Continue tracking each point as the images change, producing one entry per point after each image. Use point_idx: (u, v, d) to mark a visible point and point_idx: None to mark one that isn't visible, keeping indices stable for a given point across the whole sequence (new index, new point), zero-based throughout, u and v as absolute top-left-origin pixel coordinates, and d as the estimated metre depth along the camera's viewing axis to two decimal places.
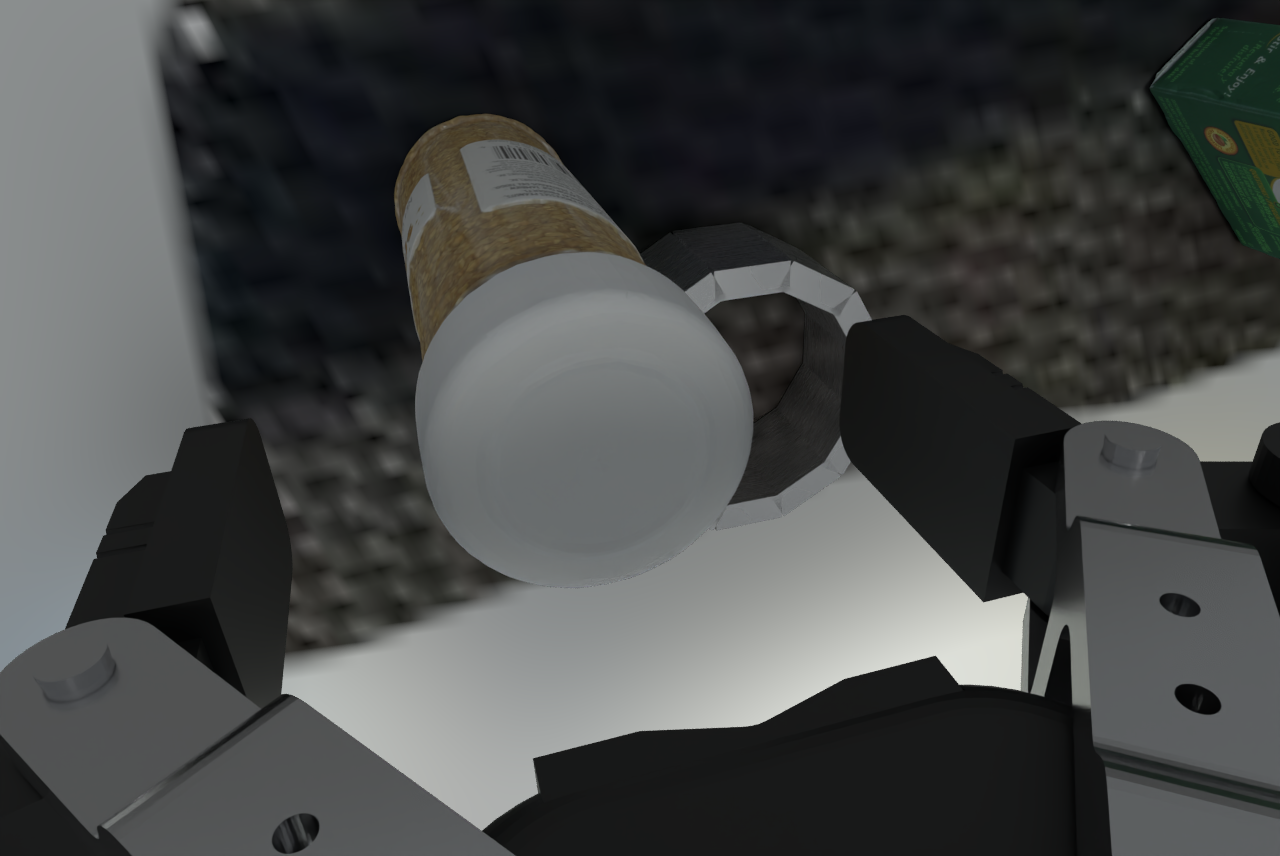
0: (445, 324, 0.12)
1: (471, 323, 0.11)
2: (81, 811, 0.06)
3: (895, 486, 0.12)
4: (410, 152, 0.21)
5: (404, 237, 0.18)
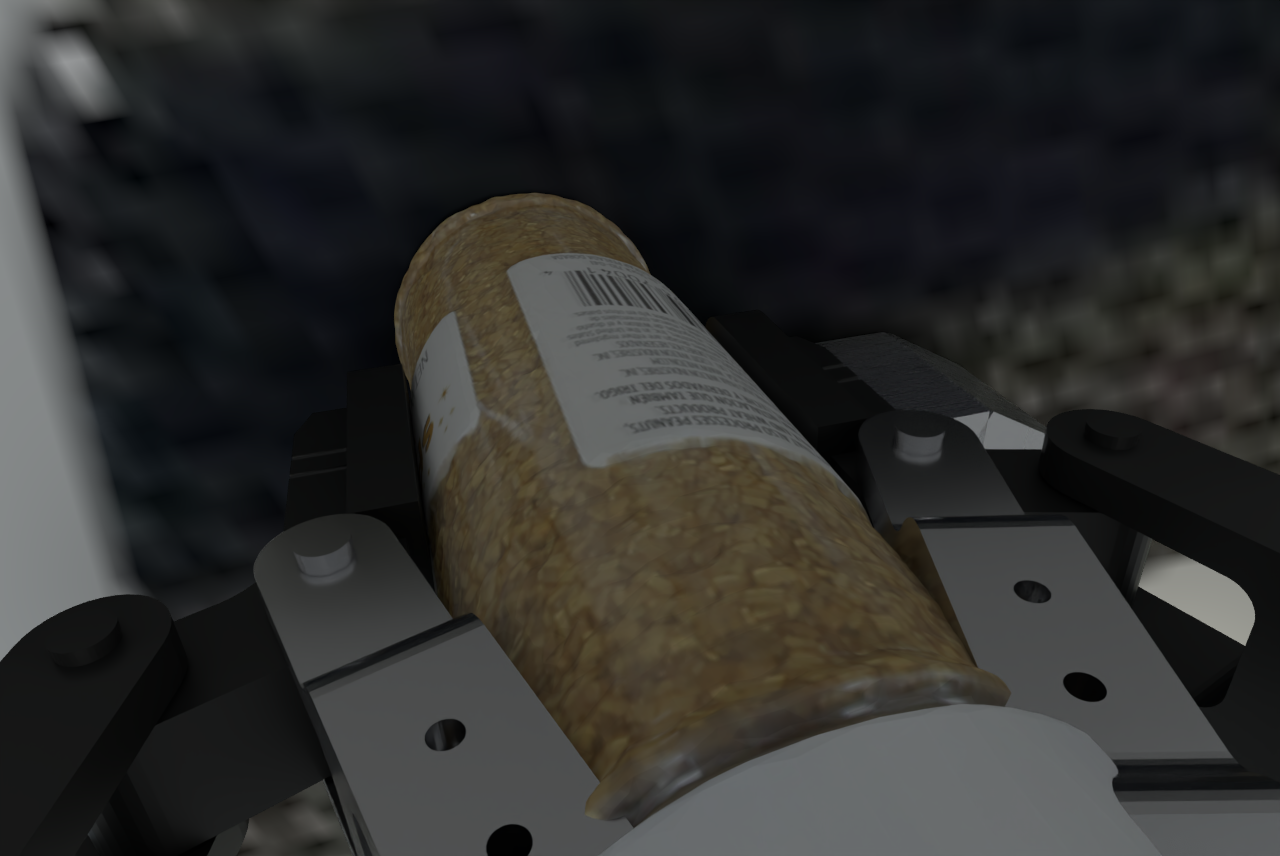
0: None
1: None
2: (300, 668, 0.07)
3: None
4: (419, 253, 0.14)
5: (416, 425, 0.11)
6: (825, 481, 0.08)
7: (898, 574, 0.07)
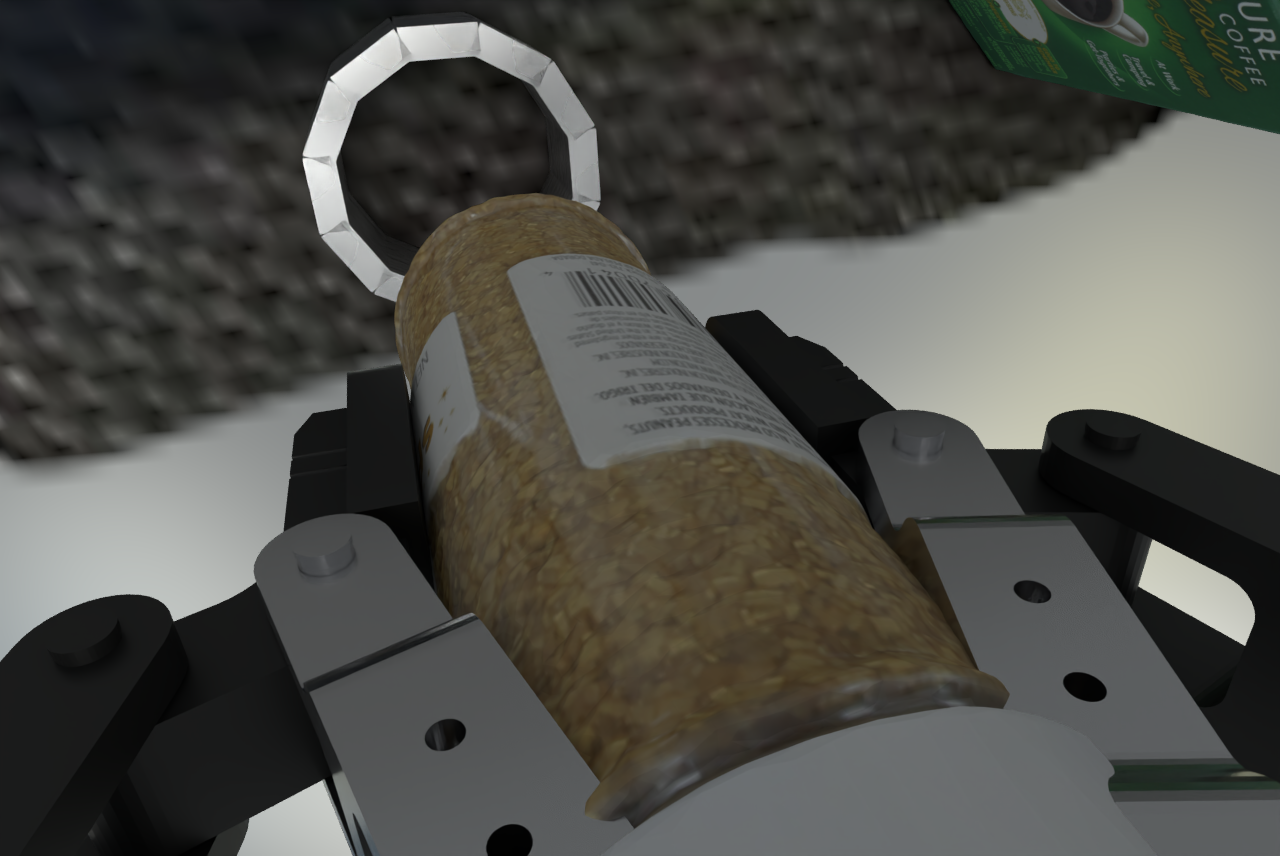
0: None
1: None
2: (299, 668, 0.07)
3: None
4: (420, 254, 0.14)
5: (416, 425, 0.11)
6: (825, 482, 0.08)
7: (898, 576, 0.07)
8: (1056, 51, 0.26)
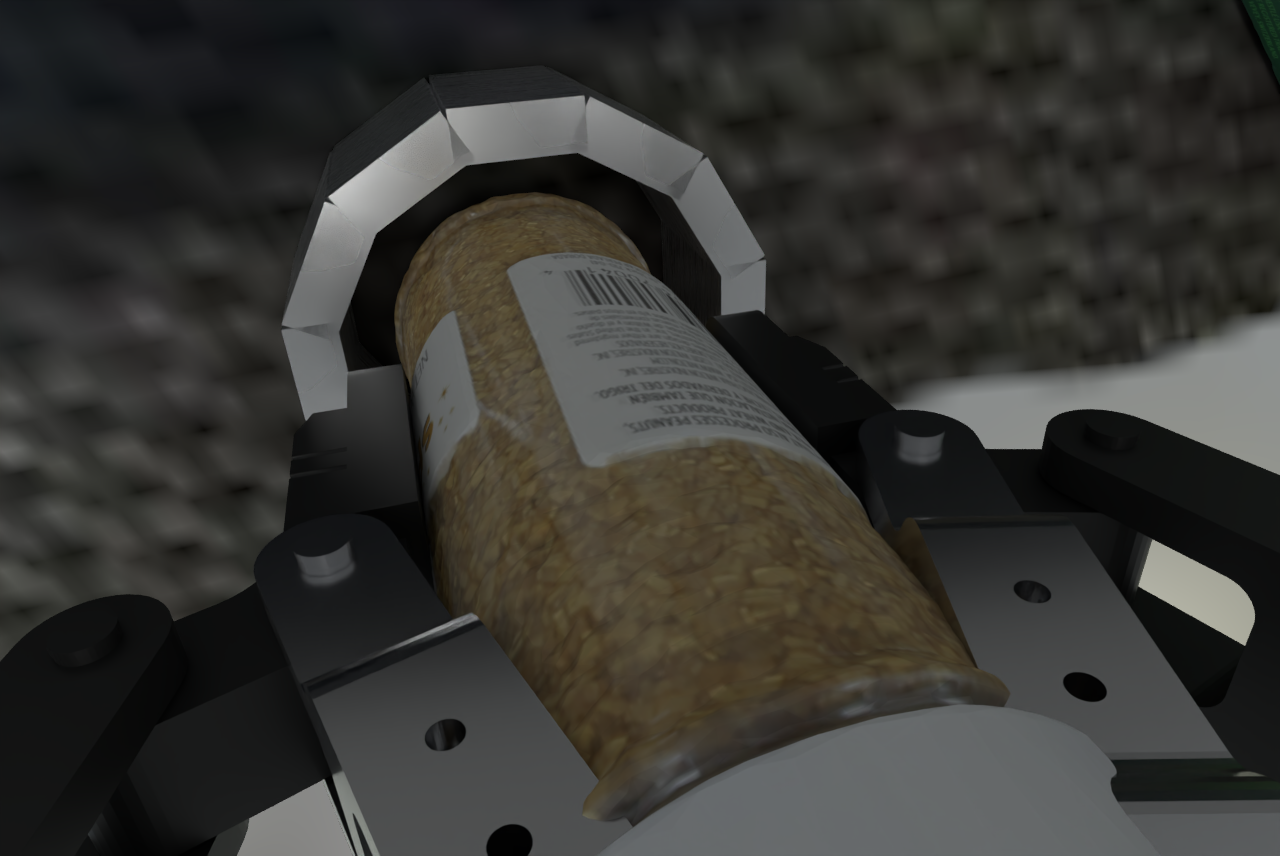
0: None
1: None
2: (298, 668, 0.07)
3: None
4: (419, 253, 0.14)
5: (416, 424, 0.11)
6: (824, 481, 0.08)
7: (897, 574, 0.07)
8: None
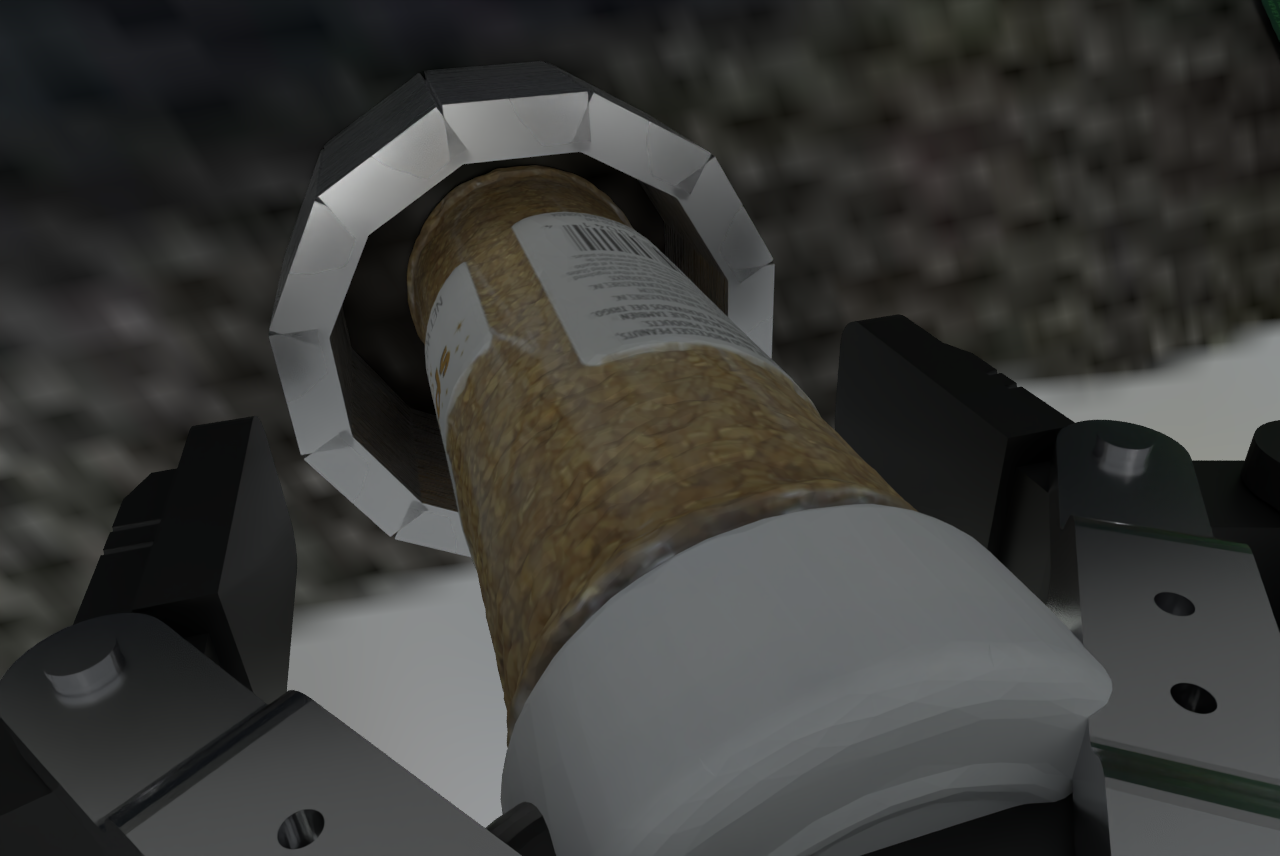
0: (572, 661, 0.06)
1: (646, 699, 0.05)
2: (89, 805, 0.06)
3: (890, 485, 0.12)
4: (430, 219, 0.15)
5: (432, 359, 0.12)
6: (783, 382, 0.09)
7: (837, 441, 0.08)
8: None
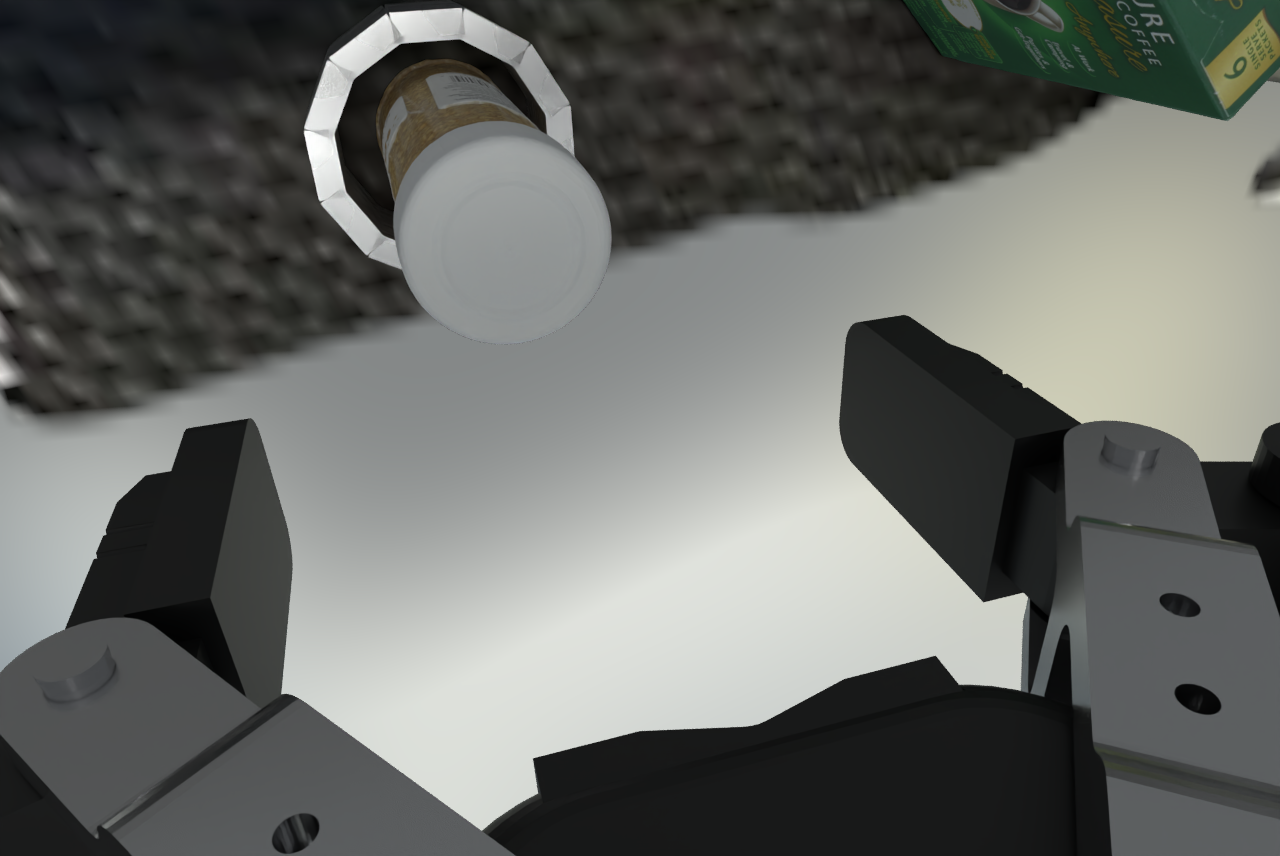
0: (412, 164, 0.19)
1: (428, 158, 0.18)
2: (80, 811, 0.06)
3: (895, 486, 0.12)
4: (388, 86, 0.28)
5: (384, 141, 0.25)
6: (526, 122, 0.22)
7: None
8: (991, 38, 0.29)
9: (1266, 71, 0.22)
